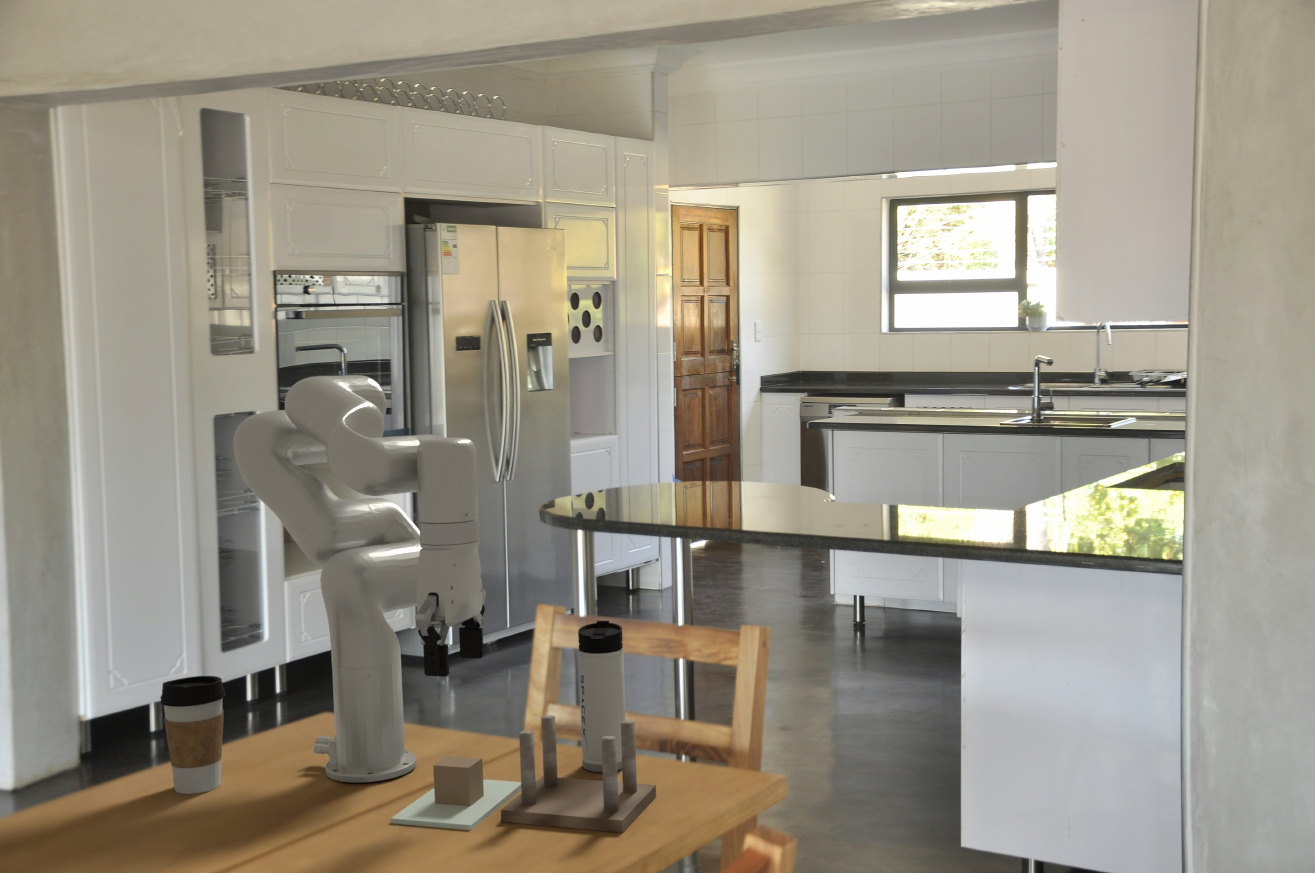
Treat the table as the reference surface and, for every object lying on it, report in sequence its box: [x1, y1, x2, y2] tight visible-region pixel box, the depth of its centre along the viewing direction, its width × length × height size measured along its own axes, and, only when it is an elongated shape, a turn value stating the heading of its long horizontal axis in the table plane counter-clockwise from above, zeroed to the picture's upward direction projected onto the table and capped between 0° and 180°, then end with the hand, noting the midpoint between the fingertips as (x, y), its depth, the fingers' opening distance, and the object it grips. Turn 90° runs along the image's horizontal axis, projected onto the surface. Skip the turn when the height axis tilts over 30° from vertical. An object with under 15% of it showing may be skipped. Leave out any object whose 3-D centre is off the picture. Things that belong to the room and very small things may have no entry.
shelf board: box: [390, 755, 521, 831], centre depth 161 cm, size 16×11×6 cm
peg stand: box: [500, 714, 657, 833], centre depth 158 cm, size 16×13×10 cm
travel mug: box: [577, 620, 626, 774], centre depth 175 cm, size 6×7×20 cm
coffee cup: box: [159, 675, 226, 795], centre depth 171 cm, size 8×8×15 cm
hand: (454, 666), depth 161 cm, fingers open, 9 cm apart
